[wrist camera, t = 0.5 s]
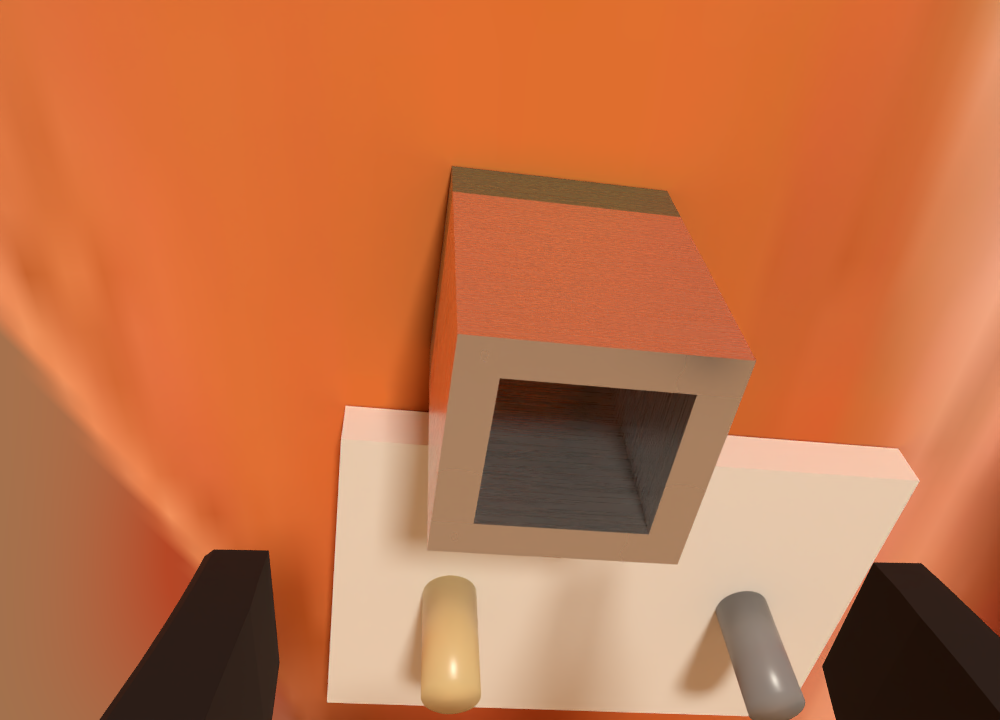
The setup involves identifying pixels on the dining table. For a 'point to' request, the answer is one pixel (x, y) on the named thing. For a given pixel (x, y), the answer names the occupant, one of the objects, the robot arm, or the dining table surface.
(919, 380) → the dining table surface
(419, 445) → the pin board
